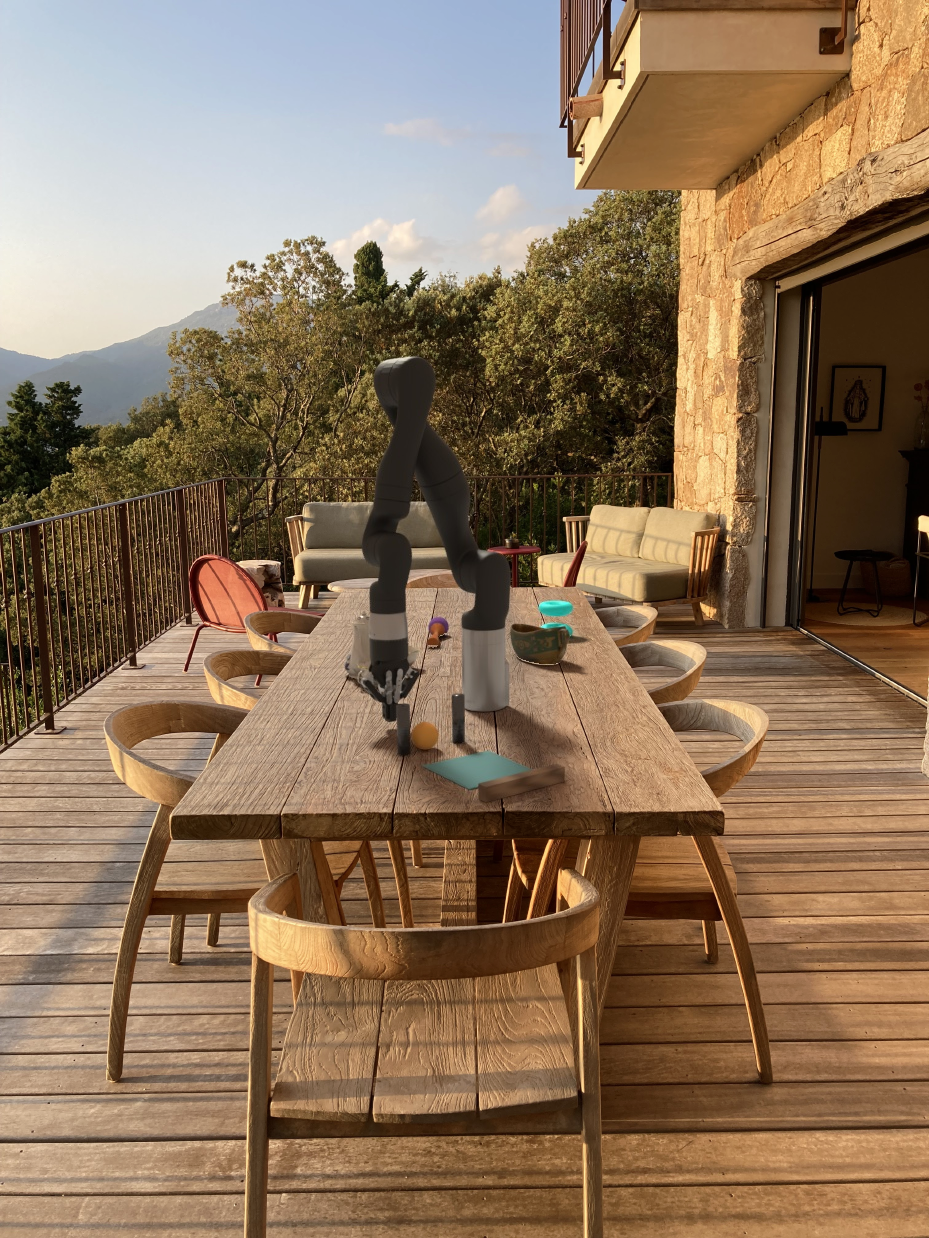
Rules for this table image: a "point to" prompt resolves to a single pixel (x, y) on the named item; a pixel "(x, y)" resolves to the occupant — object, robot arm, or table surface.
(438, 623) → the kendama
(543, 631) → the cup
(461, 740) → the post
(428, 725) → the ball
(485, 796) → the stopper
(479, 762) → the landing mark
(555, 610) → the donuts
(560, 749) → the table surface
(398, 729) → the post
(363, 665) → the chinaware
